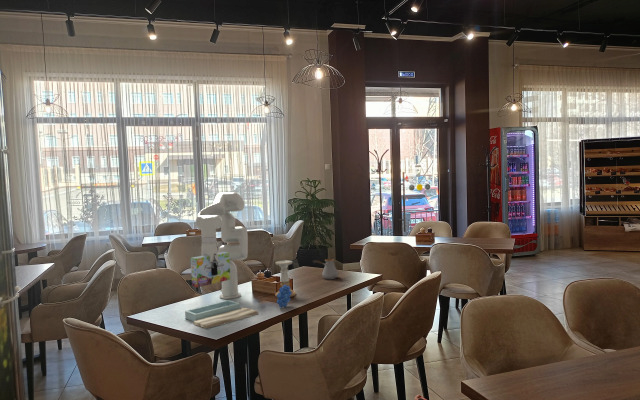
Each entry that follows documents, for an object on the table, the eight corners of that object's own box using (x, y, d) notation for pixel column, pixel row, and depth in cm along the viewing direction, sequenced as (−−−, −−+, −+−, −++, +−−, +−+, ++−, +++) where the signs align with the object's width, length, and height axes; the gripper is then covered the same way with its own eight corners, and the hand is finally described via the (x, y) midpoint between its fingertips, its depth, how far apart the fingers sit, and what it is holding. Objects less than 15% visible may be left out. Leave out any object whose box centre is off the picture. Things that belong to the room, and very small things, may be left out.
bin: (185, 318, 238) (184, 310, 237) (228, 307, 255) (228, 300, 255) (195, 322, 230) (195, 314, 229) (240, 310, 247) (239, 303, 247)
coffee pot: (329, 275, 326) (328, 254, 325) (342, 277, 318) (341, 255, 318) (308, 281, 310) (307, 259, 310) (321, 283, 302) (320, 260, 302)
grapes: (285, 303, 257) (284, 282, 257) (294, 304, 253) (293, 283, 253) (271, 308, 248) (270, 286, 247) (281, 310, 244) (280, 287, 243)
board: (193, 324, 227) (193, 321, 227) (244, 310, 248) (244, 307, 248) (206, 328, 218) (205, 325, 218) (257, 314, 239) (257, 311, 239)
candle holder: (298, 296, 272) (296, 262, 271) (277, 298, 268) (275, 264, 268) (293, 291, 284) (291, 259, 283) (273, 294, 280) (271, 261, 279)
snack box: (198, 287, 232) (196, 258, 231) (191, 286, 235) (189, 257, 235) (231, 279, 248) (229, 251, 248) (224, 278, 252) (222, 251, 251)
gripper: (194, 240, 244) (196, 273, 245) (211, 242, 232) (213, 277, 233) (207, 238, 249) (209, 271, 250) (224, 240, 237) (226, 275, 238)
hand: (211, 274), depth 241 cm, fingers closed on snack box, 6 cm apart
